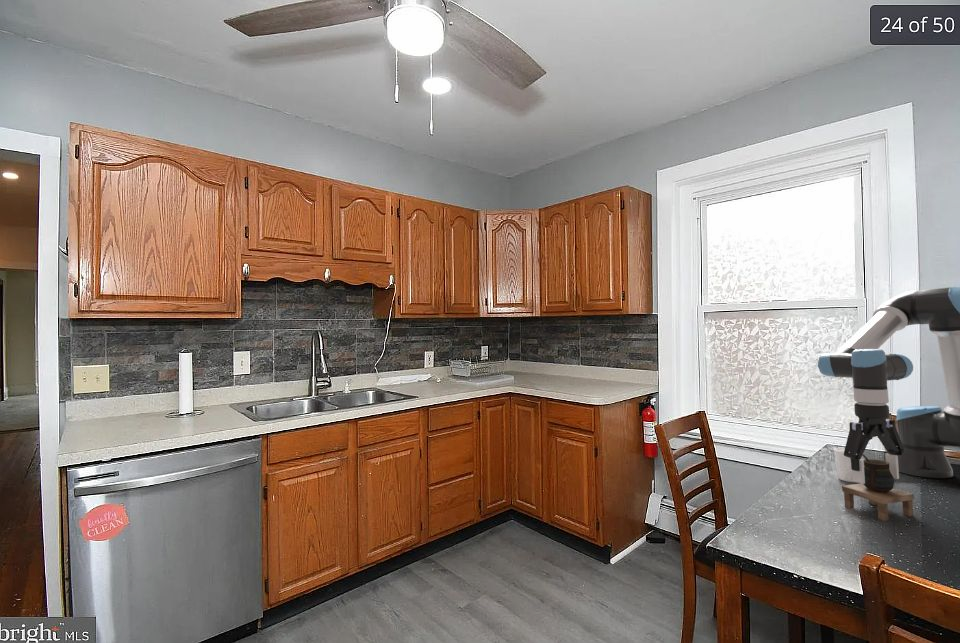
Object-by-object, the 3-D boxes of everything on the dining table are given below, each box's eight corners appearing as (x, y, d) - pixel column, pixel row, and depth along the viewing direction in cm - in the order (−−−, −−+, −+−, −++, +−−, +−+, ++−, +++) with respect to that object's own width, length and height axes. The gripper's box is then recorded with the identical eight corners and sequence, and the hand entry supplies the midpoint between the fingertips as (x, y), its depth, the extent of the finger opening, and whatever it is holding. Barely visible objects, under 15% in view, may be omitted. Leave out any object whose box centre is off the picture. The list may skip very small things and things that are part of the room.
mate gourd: (890, 496, 124) (888, 459, 124) (856, 489, 130) (853, 454, 130) (898, 490, 128) (896, 454, 128) (865, 483, 134) (862, 449, 134)
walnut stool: (872, 502, 135) (871, 481, 136) (915, 516, 125) (913, 493, 125) (843, 506, 133) (842, 485, 133) (884, 521, 122) (883, 498, 122)
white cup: (871, 483, 151) (869, 453, 151) (844, 483, 153) (842, 453, 153) (856, 476, 159) (854, 447, 159) (831, 475, 160) (829, 447, 161)
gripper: (888, 398, 136) (893, 471, 135) (824, 404, 131) (829, 480, 130) (917, 402, 129) (923, 479, 128) (851, 408, 123) (856, 488, 123)
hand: (876, 479), depth 129 cm, fingers open, 12 cm apart
